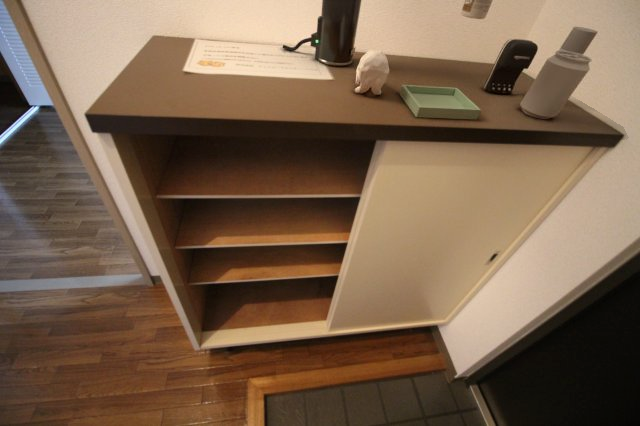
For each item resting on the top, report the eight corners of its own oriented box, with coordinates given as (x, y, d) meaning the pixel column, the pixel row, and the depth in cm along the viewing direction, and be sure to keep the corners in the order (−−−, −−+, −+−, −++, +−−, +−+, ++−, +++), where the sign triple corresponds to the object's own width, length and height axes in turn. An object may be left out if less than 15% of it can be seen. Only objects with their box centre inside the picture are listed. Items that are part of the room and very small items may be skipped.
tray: (416, 117, 56) (419, 107, 55) (399, 94, 64) (401, 84, 63) (476, 119, 58) (481, 109, 57) (452, 96, 66) (456, 87, 64)
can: (515, 102, 67) (549, 46, 59) (549, 110, 66) (589, 53, 57) (520, 115, 62) (558, 55, 53) (558, 123, 60) (602, 63, 52)
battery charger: (488, 94, 69) (514, 41, 61) (481, 88, 72) (506, 36, 64) (514, 96, 70) (544, 44, 62) (506, 90, 73) (534, 39, 65)
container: (553, 105, 68) (603, 33, 58) (533, 101, 69) (579, 30, 58) (546, 97, 72) (591, 28, 61) (527, 94, 72) (569, 25, 61)
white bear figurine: (362, 51, 54) (355, 41, 64) (355, 97, 60) (349, 81, 69) (395, 54, 55) (383, 44, 64) (384, 99, 60) (374, 83, 70)
